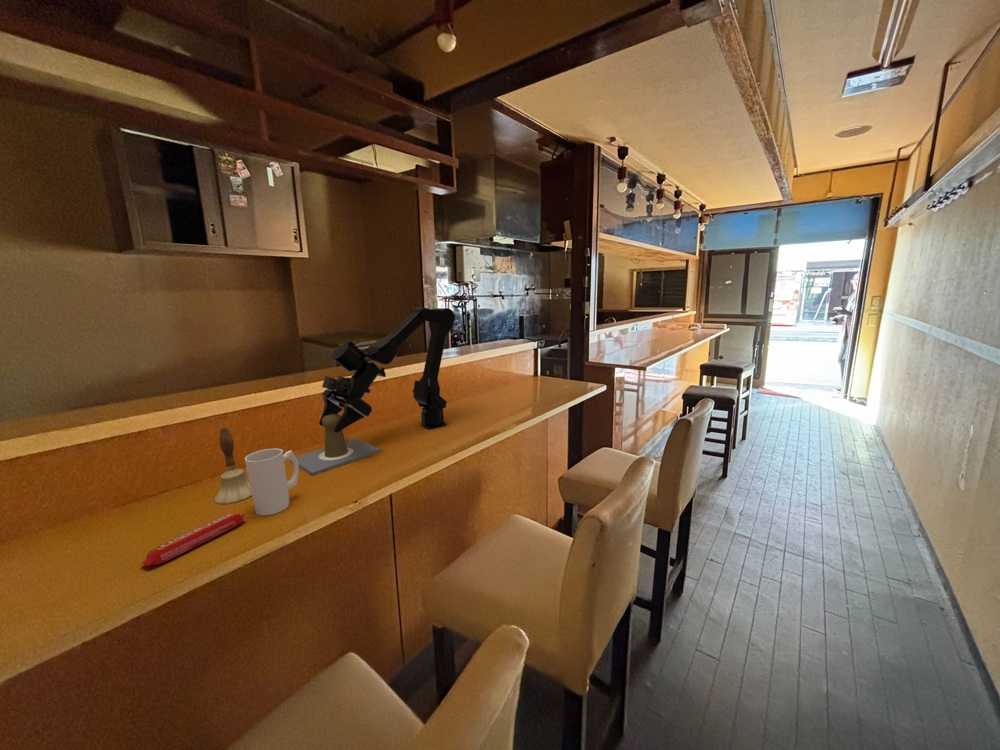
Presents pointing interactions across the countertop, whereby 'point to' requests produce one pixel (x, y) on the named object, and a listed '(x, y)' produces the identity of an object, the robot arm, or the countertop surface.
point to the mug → (270, 479)
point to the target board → (320, 463)
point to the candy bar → (192, 539)
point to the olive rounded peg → (333, 437)
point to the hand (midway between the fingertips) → (327, 428)
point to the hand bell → (231, 474)
